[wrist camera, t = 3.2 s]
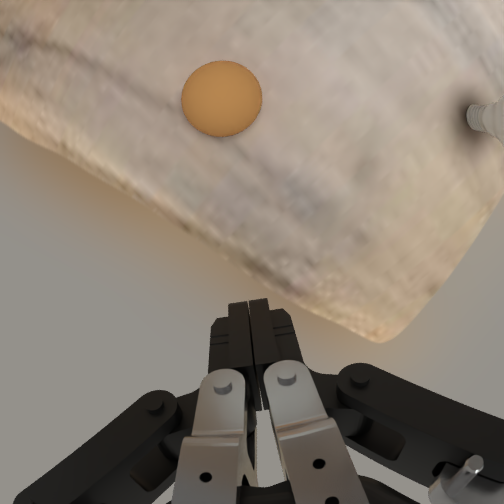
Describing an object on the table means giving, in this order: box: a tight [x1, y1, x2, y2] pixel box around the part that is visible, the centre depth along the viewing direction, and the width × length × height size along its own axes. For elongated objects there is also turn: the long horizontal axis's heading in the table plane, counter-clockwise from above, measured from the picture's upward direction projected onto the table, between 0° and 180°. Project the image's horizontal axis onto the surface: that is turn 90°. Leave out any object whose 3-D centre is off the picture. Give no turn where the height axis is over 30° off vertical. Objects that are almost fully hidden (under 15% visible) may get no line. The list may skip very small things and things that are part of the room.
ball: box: [181, 61, 262, 137], centre depth 19 cm, size 6×6×6 cm
